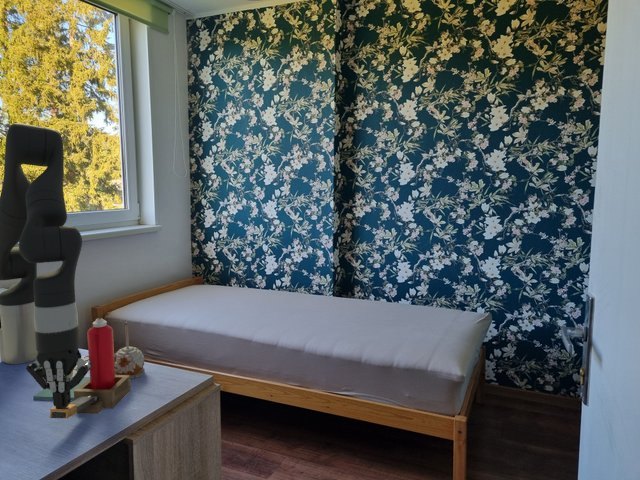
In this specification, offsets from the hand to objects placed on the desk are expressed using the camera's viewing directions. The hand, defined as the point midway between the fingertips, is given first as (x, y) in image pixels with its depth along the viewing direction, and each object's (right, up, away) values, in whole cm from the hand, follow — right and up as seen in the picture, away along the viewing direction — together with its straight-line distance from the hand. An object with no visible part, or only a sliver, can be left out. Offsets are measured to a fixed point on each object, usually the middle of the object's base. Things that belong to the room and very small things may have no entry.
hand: (62, 407), depth 91 cm
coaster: (-10, -3, +21) cm, 24 cm away
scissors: (-16, -2, +33) cm, 37 cm away
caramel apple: (+1, -3, +29) cm, 30 cm away
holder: (0, -4, +15) cm, 16 cm away
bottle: (0, -4, +17) cm, 17 cm away
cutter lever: (0, -2, +5) cm, 5 cm away
